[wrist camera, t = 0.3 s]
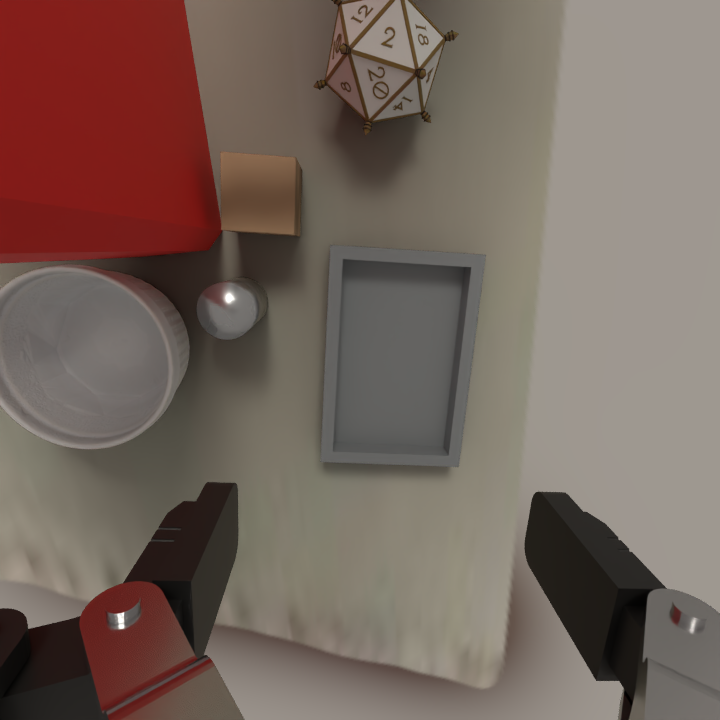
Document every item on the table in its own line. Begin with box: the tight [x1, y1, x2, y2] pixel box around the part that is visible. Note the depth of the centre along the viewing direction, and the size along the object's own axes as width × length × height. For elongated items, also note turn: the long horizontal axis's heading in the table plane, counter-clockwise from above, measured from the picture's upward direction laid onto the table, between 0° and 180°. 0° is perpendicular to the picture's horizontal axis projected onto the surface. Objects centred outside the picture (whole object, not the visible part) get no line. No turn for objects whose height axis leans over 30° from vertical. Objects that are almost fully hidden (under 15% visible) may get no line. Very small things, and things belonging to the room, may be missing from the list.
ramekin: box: [0, 264, 190, 449], centre depth 34 cm, size 13×13×7 cm
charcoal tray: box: [320, 245, 486, 467], centre depth 37 cm, size 18×12×2 cm, turn 176°
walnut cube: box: [220, 152, 302, 236], centre depth 33 cm, size 5×5×5 cm
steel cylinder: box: [197, 277, 268, 340], centre depth 34 cm, size 4×4×6 cm
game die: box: [314, 0, 459, 136], centre depth 29 cm, size 9×8×10 cm
